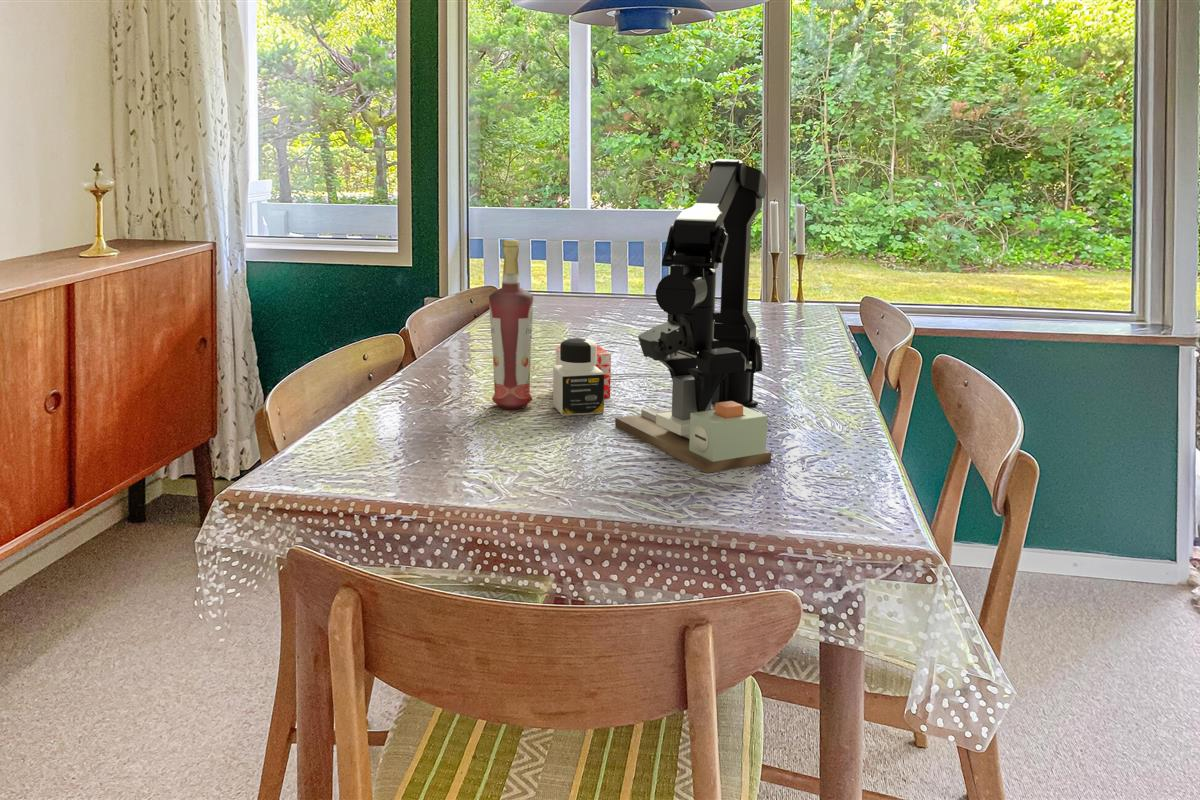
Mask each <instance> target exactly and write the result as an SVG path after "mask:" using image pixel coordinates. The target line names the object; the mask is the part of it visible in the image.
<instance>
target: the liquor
mask: <svg viewBox="0 0 1200 800" xmlns="http://www.w3.org/2000/svg"><path fill="white" fill-rule="evenodd" d="M501 243H502V254H503V270H502V271H503V272H502V281H501V282H502V283H501V287H500V288H499V289H495V290H494V291H493V292H492V293H491V294H490V295H489V296H488V301H489V302H488V303H489V304H488V305H489V317H490V318H489V321H490V335H491V348H492V361H493V362H492V363H493V387H494V394H493V396H492V398H491V400H492V402H493V403H495V404H496V405H497V406H498V407H499V408H500V409H502V410H512V411H513V410H520V409H521V410H522V409H524V408H525V407H527V406H528V405H529V404H530V403H531V402H532V401H533V397H532V395H531V357H532V356H531V355H532V353H531V351H532V336H533V311H534V310H533V308H534V295H533V294H532V293H530V291H528V290H527V289H524V288H521V282H520V281H521V280H520V273H519V262H518V257H519V251H520V248H519V246H520V245H519V244H520V243H519V240H518V239H504V240H502V241H501Z"/></svg>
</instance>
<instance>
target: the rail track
mask: <svg viewBox="0 0 1200 800" xmlns="http://www.w3.org/2000/svg"><path fill="white" fill-rule="evenodd" d="M665 412H672V409H671V410H665V411H660V410H657V409H656V408H653V407H650V408H641V413H640V414H635V415H634V414H632V415H627V416H619V417H615V420H614V424H615V425H614V427H615V428H617V429H618V430H620V431H622V432H623V433H626V434H628V435H631V436H632V437H634V438H636V439H638V440H640V441H642V442H643V443H646V444H648V445H650V446H651V447H654V448H656V449H658V450H660V451H662V452H664V453H666V454H668V455H670V456H671V457H674V458H676V459H678V460H680V461H682V462H684V463H686V464H688V465H690V466H692V467H693V468H696V469H698V470H699V471H701V472H704V473H705V474H709V473H714V472H715V473H716V472H721V471H722V472H723V471H728V470H734V469H740V468H746V467H752V466H757V465H762V464H763V465H764V464H768V463H772V451H770V450H767V449H766V453H764V454H758V455H751V456H745V457H739V458H733V459H727V460H721V461H714V462H712V461H710V460H708V459H706V458H704V457H702V456H700V455H698V454H696V453H694V452H692V451H690V450H689V442H690V439H689V438H686V437H684V436H681V435H678V434H676V433H674V432H672V431H670V430H668V429H666V428H663V427H661V426H659V425H657V424H656V414H658V413H665Z"/></svg>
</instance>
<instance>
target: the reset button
mask: <svg viewBox="0 0 1200 800" xmlns="http://www.w3.org/2000/svg"><path fill="white" fill-rule="evenodd" d="M714 408H715V409H714V410H715V414H716V415H718V416H721V417H723V418H725V419H727V418H734V417H741V416H743V405H741V404H739V403H736V402H734V401H727V402H719V403H715V407H714Z"/></svg>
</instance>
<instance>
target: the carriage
mask: <svg viewBox="0 0 1200 800" xmlns="http://www.w3.org/2000/svg"><path fill="white" fill-rule="evenodd" d="M671 386H672V387H671V388H672V389H671V390H672V393H671V410H672V412H665V413H658V414H656V424H657V425H659V426H661V427H663V428H666V429H668V430H670V431H672V432H674V433H676V434H678V435H681V436H684V437H686V438H689V439H690V413H695V412H697V407H696V393H695V379H694V377H693V376H692V375H683V376H674V377H673V381H672V385H671ZM710 410H712V402H711V400H710V402H709V404H708V406H707V408H706V410H705V411H710Z"/></svg>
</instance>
